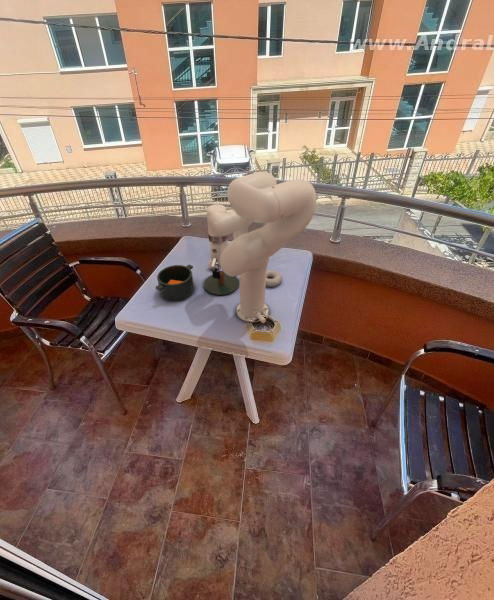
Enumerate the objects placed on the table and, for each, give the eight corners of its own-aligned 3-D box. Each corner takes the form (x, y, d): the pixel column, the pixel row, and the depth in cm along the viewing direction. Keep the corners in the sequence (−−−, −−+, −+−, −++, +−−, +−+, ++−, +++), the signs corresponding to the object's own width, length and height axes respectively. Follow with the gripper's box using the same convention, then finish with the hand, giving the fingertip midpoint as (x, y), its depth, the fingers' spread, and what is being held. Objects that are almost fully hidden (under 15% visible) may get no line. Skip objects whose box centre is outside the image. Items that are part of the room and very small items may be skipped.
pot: (205, 284, 142) (203, 269, 137) (172, 309, 131) (169, 293, 125) (181, 274, 149) (179, 258, 144) (149, 296, 138) (145, 280, 133)
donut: (280, 289, 137) (282, 275, 144) (281, 283, 135) (283, 269, 142) (257, 287, 139) (260, 273, 146) (257, 281, 137) (260, 267, 144)
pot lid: (246, 282, 142) (245, 269, 138) (224, 300, 133) (223, 288, 129) (219, 270, 150) (218, 258, 146) (196, 287, 141) (195, 275, 137)
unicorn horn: (239, 247, 165) (238, 238, 162) (216, 271, 149) (216, 263, 146) (230, 245, 167) (230, 237, 164) (208, 269, 151) (207, 260, 148)
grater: (234, 257, 157) (232, 203, 139) (231, 250, 163) (228, 196, 145) (250, 254, 159) (250, 200, 141) (245, 247, 164) (245, 194, 146)
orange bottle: (191, 289, 139) (190, 282, 137) (188, 293, 137) (187, 286, 135) (169, 286, 142) (168, 279, 140) (166, 290, 140) (165, 283, 137)
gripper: (220, 249, 119) (222, 285, 130) (233, 227, 131) (234, 261, 142) (201, 246, 121) (205, 282, 132) (216, 225, 133) (218, 259, 144)
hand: (220, 271), depth 137 cm, fingers open, 9 cm apart
